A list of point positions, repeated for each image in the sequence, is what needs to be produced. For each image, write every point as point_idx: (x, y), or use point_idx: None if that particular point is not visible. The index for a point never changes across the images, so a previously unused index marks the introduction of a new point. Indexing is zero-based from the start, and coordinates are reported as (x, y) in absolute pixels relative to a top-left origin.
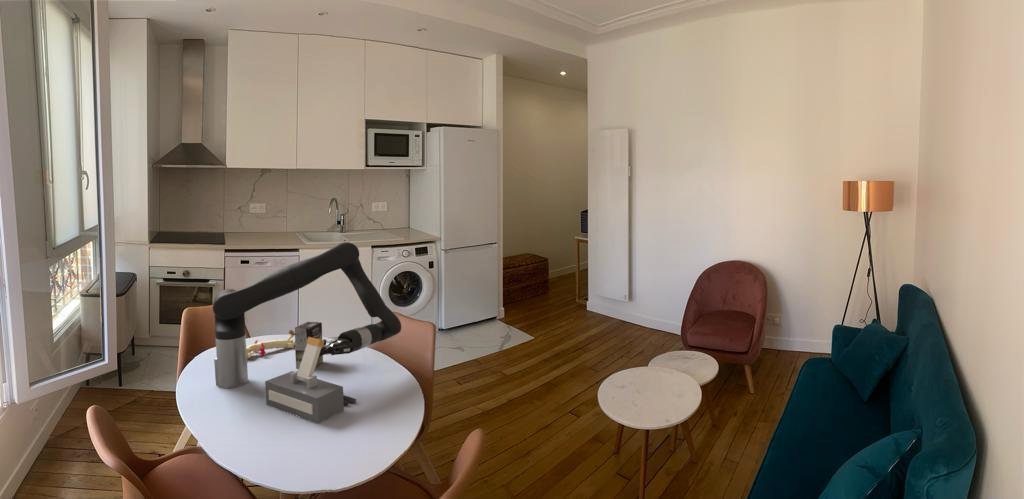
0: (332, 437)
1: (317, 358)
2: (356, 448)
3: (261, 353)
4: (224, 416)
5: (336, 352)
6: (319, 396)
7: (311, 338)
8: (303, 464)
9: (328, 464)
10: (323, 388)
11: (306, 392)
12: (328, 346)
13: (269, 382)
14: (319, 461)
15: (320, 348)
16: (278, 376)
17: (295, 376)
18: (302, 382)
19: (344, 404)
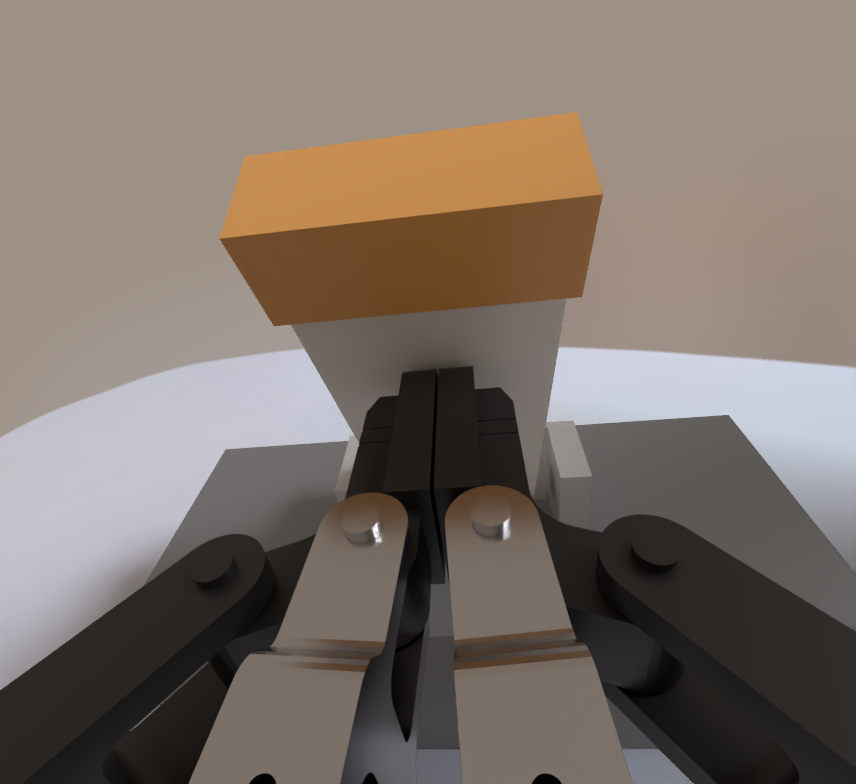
0: (145, 517)
1: (346, 410)
2: (17, 516)
3: None
4: (683, 406)
5: (199, 741)
6: (222, 465)
7: (470, 142)
8: (177, 407)
9: (100, 433)
10: (262, 538)
11: (335, 456)
12: (359, 557)
13: (682, 419)
14: (135, 429)
15: (298, 325)
16: (783, 490)
17: (550, 465)
18: None
19: None
